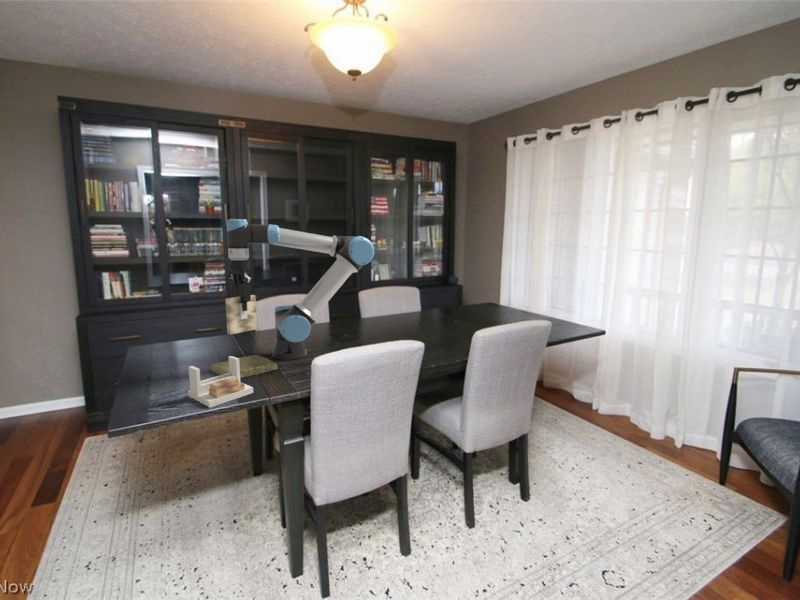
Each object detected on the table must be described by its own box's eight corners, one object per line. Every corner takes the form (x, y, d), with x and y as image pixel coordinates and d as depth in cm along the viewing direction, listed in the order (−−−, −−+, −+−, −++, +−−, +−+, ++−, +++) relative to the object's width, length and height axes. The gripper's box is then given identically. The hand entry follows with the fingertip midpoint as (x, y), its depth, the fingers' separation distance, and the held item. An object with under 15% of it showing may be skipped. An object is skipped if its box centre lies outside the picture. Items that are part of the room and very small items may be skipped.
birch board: (254, 328, 174) (252, 294, 171) (257, 329, 172) (255, 295, 170) (227, 333, 164) (225, 298, 162) (230, 334, 163) (228, 299, 161)
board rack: (231, 383, 156) (229, 355, 154) (253, 392, 147) (251, 362, 145) (188, 396, 143) (185, 365, 141) (209, 407, 135) (207, 375, 133)
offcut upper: (232, 382, 146) (231, 376, 146) (238, 385, 143) (238, 379, 143) (210, 389, 140) (209, 383, 139) (216, 392, 137) (216, 386, 137)
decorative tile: (210, 371, 170) (209, 363, 169) (255, 360, 185) (255, 352, 184) (232, 383, 158) (231, 373, 157) (279, 370, 172) (278, 361, 172)
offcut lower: (236, 386, 148) (236, 380, 148) (244, 389, 145) (244, 383, 145) (209, 394, 140) (208, 389, 140) (217, 398, 137) (216, 392, 137)
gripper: (219, 258, 165) (223, 317, 169) (241, 260, 156) (244, 322, 160) (236, 257, 171) (239, 314, 175) (258, 259, 162) (261, 319, 166)
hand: (242, 318), depth 167 cm, fingers closed on birch board, 2 cm apart
